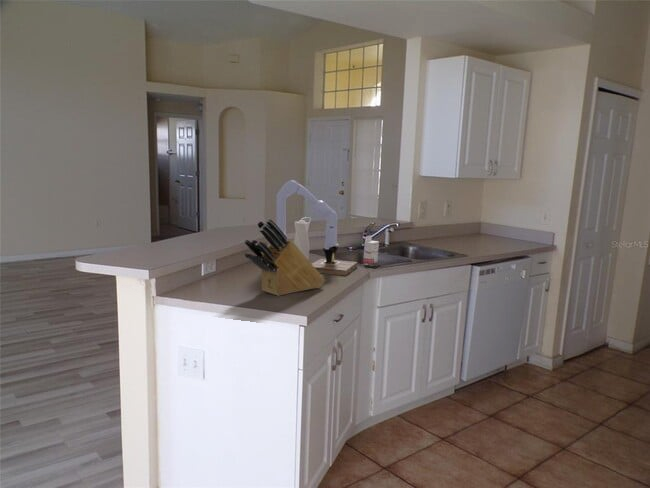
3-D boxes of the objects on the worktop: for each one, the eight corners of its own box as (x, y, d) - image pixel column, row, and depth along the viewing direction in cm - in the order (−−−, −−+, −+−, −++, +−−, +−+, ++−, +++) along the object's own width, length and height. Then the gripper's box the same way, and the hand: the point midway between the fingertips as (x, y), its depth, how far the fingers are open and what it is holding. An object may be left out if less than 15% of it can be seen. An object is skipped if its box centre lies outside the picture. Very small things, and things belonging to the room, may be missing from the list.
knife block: (241, 294, 199) (242, 217, 194) (308, 282, 222) (310, 213, 217) (257, 300, 190) (258, 220, 185) (325, 287, 214) (328, 216, 209)
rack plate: (345, 275, 239) (346, 270, 239) (306, 271, 245) (306, 265, 244) (356, 267, 260) (357, 261, 259) (320, 263, 266) (320, 258, 265)
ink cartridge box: (371, 264, 268) (372, 237, 266) (363, 263, 270) (364, 236, 268) (378, 262, 275) (379, 235, 273) (369, 260, 278) (371, 234, 275)
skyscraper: (305, 274, 239) (307, 216, 234) (311, 278, 231) (313, 218, 227) (288, 275, 236) (290, 216, 231) (294, 278, 228) (295, 218, 224)
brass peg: (332, 265, 252) (332, 254, 251) (324, 264, 254) (325, 253, 253) (334, 264, 256) (335, 252, 255) (327, 263, 257) (328, 252, 256)
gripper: (334, 237, 244) (333, 264, 246) (342, 233, 258) (341, 259, 260) (321, 236, 246) (320, 263, 248) (329, 232, 260) (328, 258, 262)
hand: (330, 261), depth 254 cm, fingers closed on brass peg, 4 cm apart
